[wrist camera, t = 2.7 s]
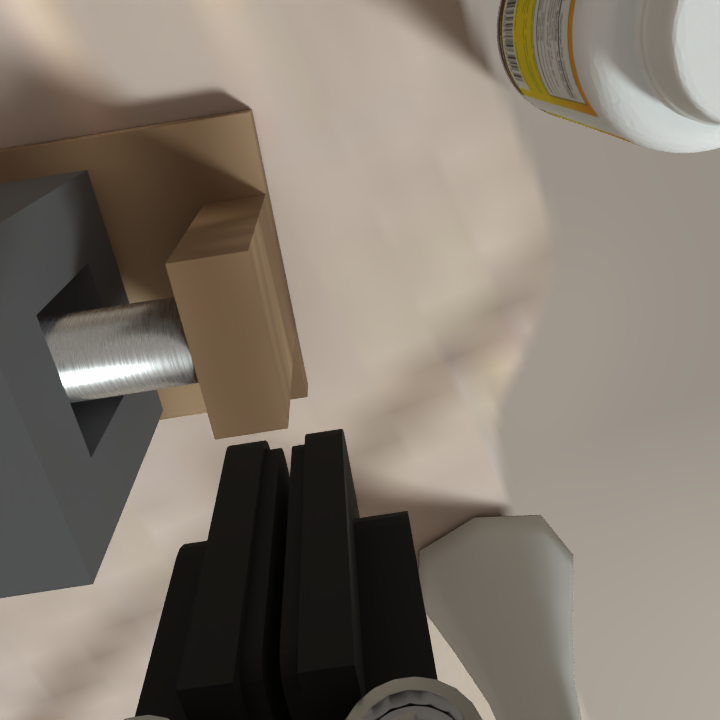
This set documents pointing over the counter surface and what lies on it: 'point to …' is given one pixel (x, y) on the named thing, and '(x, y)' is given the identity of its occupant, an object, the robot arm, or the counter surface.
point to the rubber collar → (58, 392)
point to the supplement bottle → (620, 66)
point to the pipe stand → (195, 255)
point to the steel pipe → (120, 349)
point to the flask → (507, 612)
